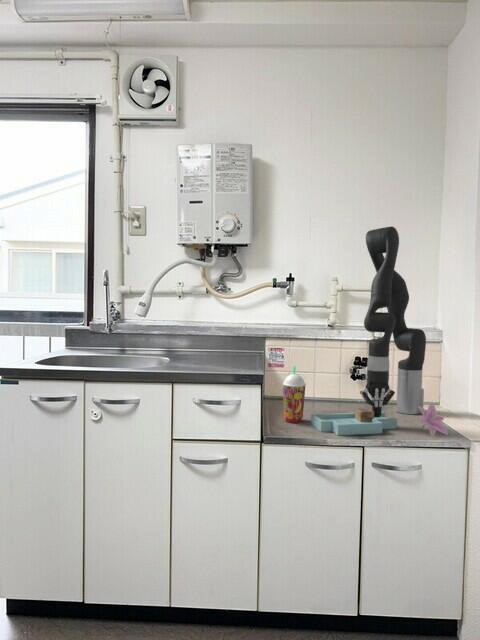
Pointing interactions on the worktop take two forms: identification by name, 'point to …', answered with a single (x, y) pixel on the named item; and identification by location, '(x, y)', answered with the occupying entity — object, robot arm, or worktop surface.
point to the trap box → (351, 424)
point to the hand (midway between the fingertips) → (376, 416)
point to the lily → (432, 419)
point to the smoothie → (293, 397)
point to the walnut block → (364, 415)
